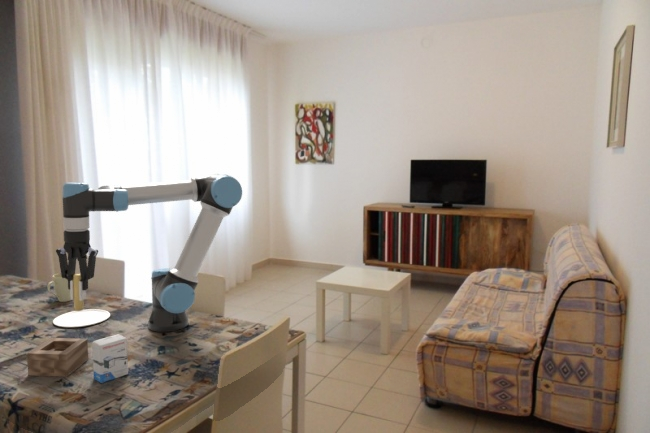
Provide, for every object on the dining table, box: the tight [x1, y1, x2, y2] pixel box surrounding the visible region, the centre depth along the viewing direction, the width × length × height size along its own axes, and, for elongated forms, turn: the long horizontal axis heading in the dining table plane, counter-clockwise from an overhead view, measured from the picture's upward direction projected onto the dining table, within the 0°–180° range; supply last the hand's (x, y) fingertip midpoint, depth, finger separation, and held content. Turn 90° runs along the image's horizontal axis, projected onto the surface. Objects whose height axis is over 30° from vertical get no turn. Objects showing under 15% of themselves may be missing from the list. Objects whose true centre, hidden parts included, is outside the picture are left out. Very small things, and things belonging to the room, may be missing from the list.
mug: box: [46, 272, 72, 303], centre depth 207 cm, size 11×10×12 cm
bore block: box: [26, 337, 89, 377], centre depth 143 cm, size 12×12×7 cm
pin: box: [73, 273, 85, 311], centre depth 152 cm, size 3×3×12 cm
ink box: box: [91, 333, 129, 384], centre depth 138 cm, size 9×5×12 cm, turn 141°
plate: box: [52, 308, 111, 329], centre depth 186 cm, size 21×21×1 cm
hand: (78, 298), depth 152 cm, fingers closed on pin, 2 cm apart
